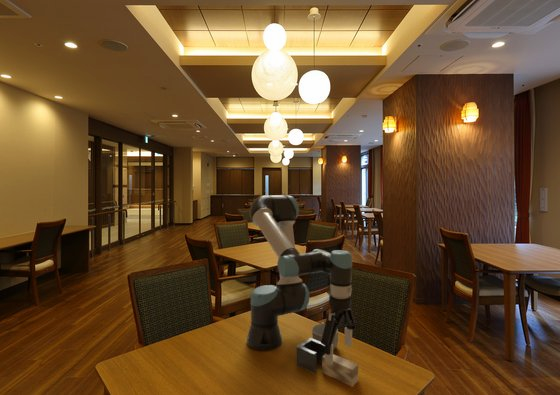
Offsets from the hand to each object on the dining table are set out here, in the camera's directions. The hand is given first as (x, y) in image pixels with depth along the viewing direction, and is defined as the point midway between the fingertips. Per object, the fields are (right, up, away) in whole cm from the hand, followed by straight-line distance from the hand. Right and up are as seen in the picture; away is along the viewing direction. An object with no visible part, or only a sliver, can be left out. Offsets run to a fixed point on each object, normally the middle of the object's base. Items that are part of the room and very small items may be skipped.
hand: (338, 353), depth 105 cm
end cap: (-9, -8, +7) cm, 14 cm away
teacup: (-2, -8, +21) cm, 22 cm away
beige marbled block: (0, -8, 0) cm, 8 cm away
